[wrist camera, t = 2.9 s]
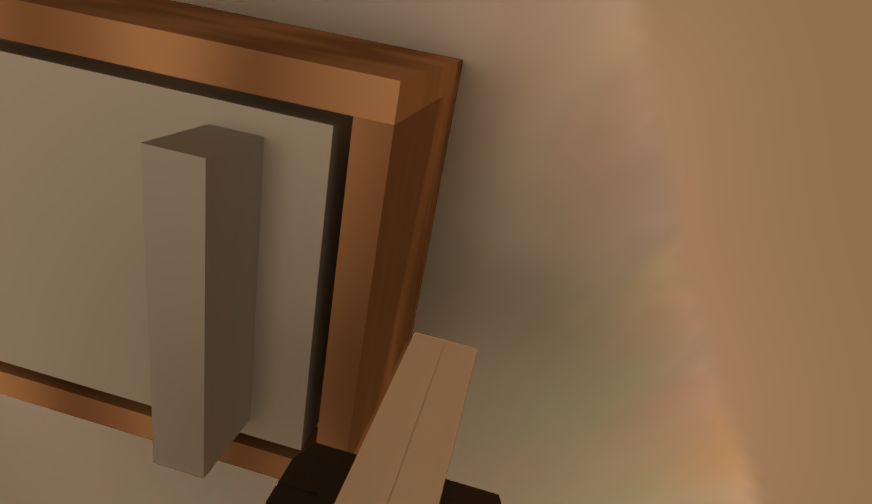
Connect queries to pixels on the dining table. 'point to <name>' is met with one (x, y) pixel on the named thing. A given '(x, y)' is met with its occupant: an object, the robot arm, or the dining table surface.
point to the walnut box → (364, 191)
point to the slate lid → (169, 246)
